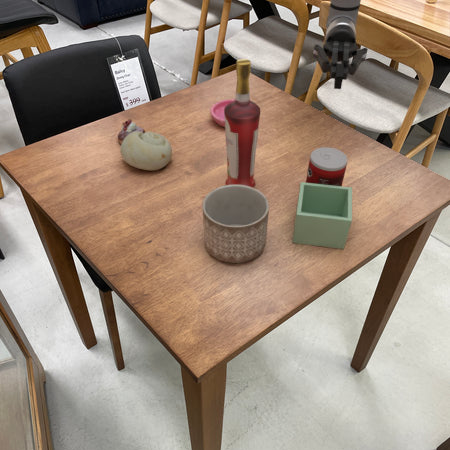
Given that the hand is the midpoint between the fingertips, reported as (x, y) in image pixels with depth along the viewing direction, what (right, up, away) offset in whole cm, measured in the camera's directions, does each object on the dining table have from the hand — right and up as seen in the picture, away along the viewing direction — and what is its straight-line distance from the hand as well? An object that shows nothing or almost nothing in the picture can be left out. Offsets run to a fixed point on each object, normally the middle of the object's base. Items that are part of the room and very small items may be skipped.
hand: (338, 82), depth 96 cm
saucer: (-23, +2, +26) cm, 35 cm away
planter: (-23, -36, -5) cm, 43 cm away
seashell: (-44, -14, +14) cm, 48 cm away
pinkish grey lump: (-49, -5, +20) cm, 54 cm away
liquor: (-21, -21, +7) cm, 31 cm away
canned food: (-3, -25, +4) cm, 25 cm away
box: (-5, -32, -2) cm, 33 cm away
